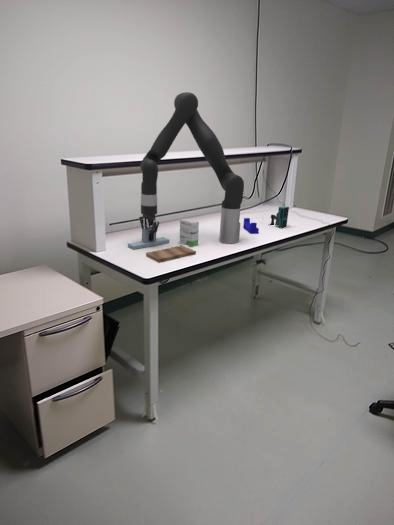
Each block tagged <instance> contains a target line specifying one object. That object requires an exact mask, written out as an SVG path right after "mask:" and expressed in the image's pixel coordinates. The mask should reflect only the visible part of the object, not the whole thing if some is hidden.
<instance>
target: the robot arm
mask: <svg viewBox="0 0 394 525" xmlns="http://www.w3.org/2000/svg"><path fill="white" fill-rule="evenodd" d="M173 104H174V106H173V107H174V109H175V110H174V112H173V114H172V116H171V118H170V119H169V120H168V122H167V123H166V125H165V126H164V127H163V128H162V130H161V131H160V132H159V133H158V135H157V137H156V138H155V140H154V142H153V143H152V145H151V147H150V149H149V150H148V151H147V153H146V154H145V155H144V157H143V158H142V160H141V162H140V170H141V171H142V174H141V175H142V181H141V187H140V188H141V189H140V190H141V192H140V214H141V215H142V216H139V217H138V218H139V223H140V226H141V230H142V229H147V228H148V229H149V241H153V240H154V233H155V232H156V233H157V232H158V228H159V226H160V221H157V220H156V215H157V214H158V194H157V193H158V192H157V190H158V186H157V185H158V184H157V183H158V175H159V166H158V164H160V162H161V160H162V159H164V158H165V157H166V155H167V153H168V152H169V150H170V148H171V146H172V145H173V143H174V142H175V140H176V138H177V136H178V134H179V133H180V132H181V130H182V128H183V127H184V126H185V125H187V127H188V129H189V131H190V133H191V135H192V138H193V139H194V141H195V143H196V145H197V147H198V149H200V151H201V153H202V155H203V157H204V158H205V160H206V161H207V162H208V164H209V165H210V167H211V168H212V170H213V172H214V174H215V175H216V177H217V179H218V183H219V184H220V187H221V188H222V189H223V191H224V199H223V200H222V202H221V209H220V210H221V212H220V227H219V242H220V243H223V244H237V243H238V242H240V236H241V235H240V233H241V222H240V216H241V206H242V202H243V199H244V198H243V197H244V192H245V191H244V190H245V182H244V179H243V178H242V176H240V175H238V174H235V172H234V171H233V170H232V169H231V167H230V165H229V164H228V162H227V159H226V156H225V151H224V149H223V146H222V144H221V142H220V141H219V139H218V137H217V135H216V133H215V132H214V131H213V130H212V129H211V127H209V125H208V124H207V123H206V122H205V121H204V119H203V118H202V116H201V115H200V113H199V110H198V108H199V99H198V97H197V96H196V95H195V93H192V92H188V91H186V92H181V93H179V94H177V95H176V96H175V98H174V102H173ZM151 228H152V229H151ZM154 229H155V230H154Z"/></svg>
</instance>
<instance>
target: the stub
mask: <svg viewBox="0 0 394 525" xmlns="http://www.w3.org/2000/svg"><path fill="white" fill-rule="evenodd" d="M151 229H152V228H151ZM154 230H155V229H154ZM169 243H170V239H169V238H167V237H165V236H162V237H157V232H155V233H154V240H153V241H149V229H148V228H147V229H142V228H141V240H140V241H133V242H129V243H128V242H127V247H128V248H129V249H132V250H138V249H143V248H147V247H148V248H149V247H153V246H160V245H164V244H169Z"/></svg>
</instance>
